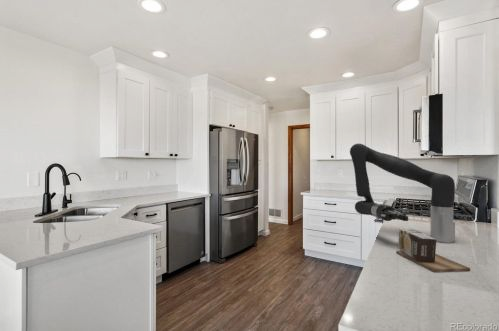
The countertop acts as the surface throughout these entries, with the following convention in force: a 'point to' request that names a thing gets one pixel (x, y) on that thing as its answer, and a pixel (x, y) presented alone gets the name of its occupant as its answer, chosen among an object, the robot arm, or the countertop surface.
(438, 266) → the cutting board
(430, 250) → the coffee box
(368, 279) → the countertop surface
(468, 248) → the countertop surface
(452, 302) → the countertop surface
